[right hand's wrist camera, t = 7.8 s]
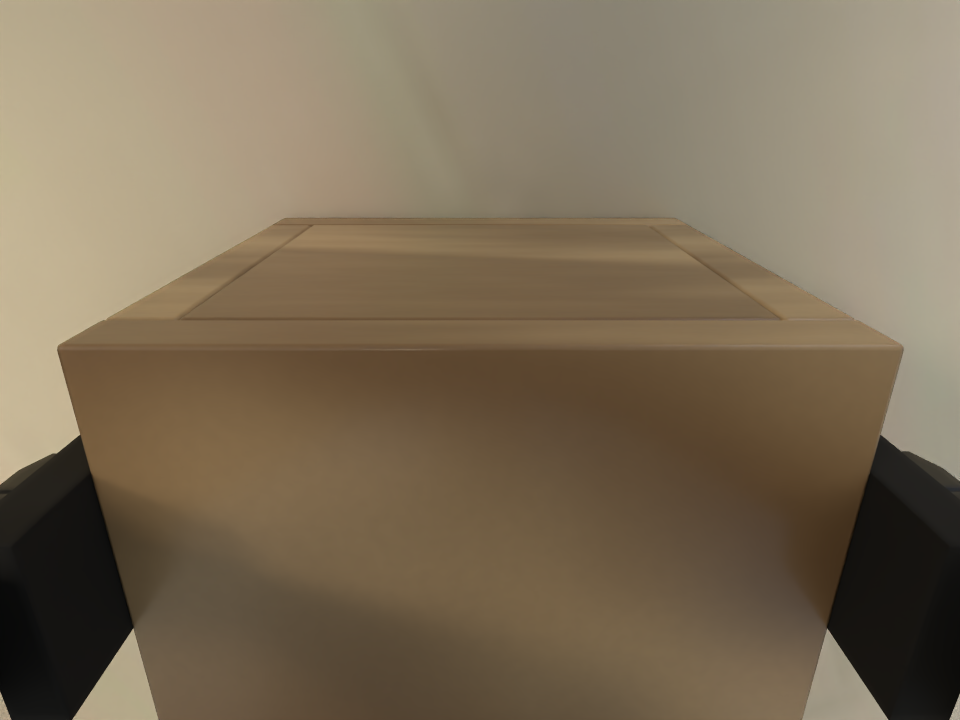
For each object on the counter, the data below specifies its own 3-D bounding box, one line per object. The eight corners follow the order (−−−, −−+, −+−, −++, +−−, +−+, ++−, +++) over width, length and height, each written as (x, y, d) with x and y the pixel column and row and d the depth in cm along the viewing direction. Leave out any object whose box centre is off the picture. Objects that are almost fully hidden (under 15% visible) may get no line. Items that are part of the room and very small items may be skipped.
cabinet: (623, 675, 22) (715, 1039, 14) (337, 675, 22) (245, 1039, 14) (677, 217, 16) (907, 345, 8) (282, 217, 16) (52, 345, 8)
